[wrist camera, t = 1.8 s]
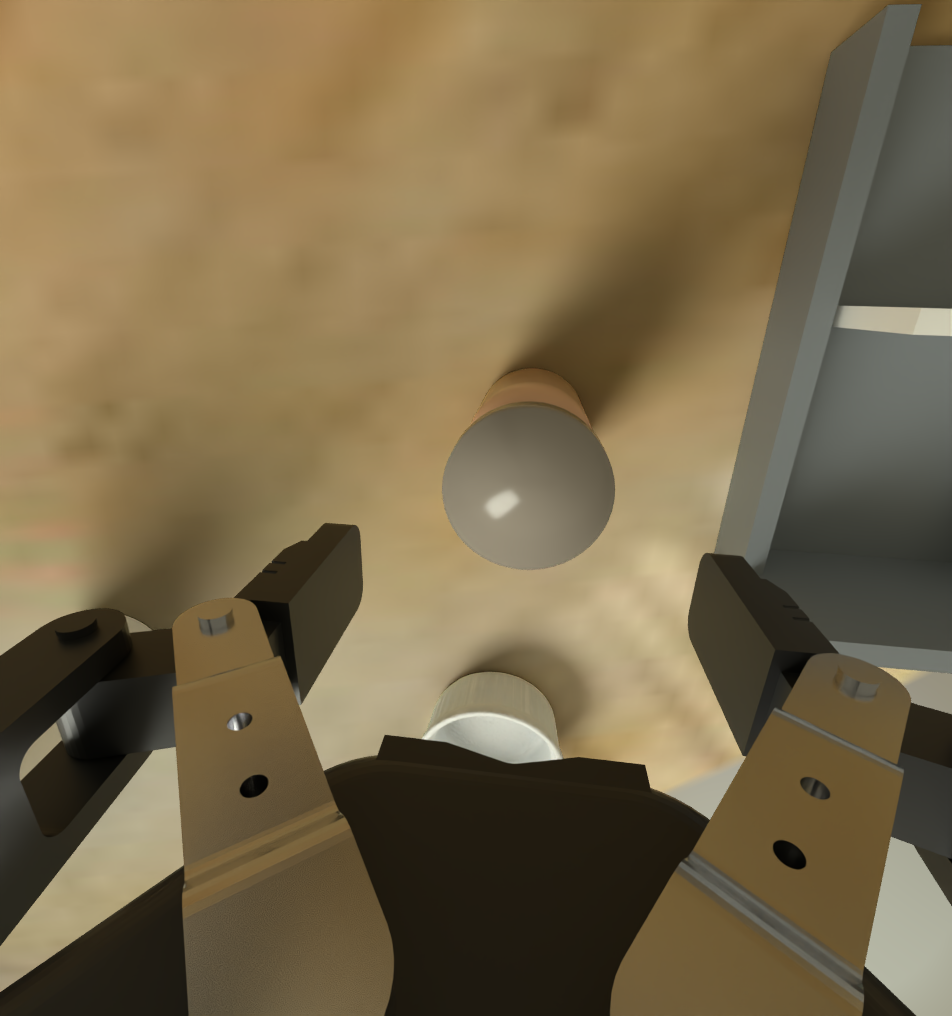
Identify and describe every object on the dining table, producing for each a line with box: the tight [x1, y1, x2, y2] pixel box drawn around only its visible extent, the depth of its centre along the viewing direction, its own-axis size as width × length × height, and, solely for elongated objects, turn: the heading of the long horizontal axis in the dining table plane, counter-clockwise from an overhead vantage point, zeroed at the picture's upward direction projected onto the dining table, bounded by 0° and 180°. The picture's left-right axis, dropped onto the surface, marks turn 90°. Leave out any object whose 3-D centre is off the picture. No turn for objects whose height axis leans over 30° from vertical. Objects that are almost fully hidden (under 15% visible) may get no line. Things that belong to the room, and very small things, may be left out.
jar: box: [442, 368, 615, 570], centre depth 22 cm, size 6×6×11 cm
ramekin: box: [422, 672, 563, 764], centre depth 32 cm, size 9×9×4 cm
